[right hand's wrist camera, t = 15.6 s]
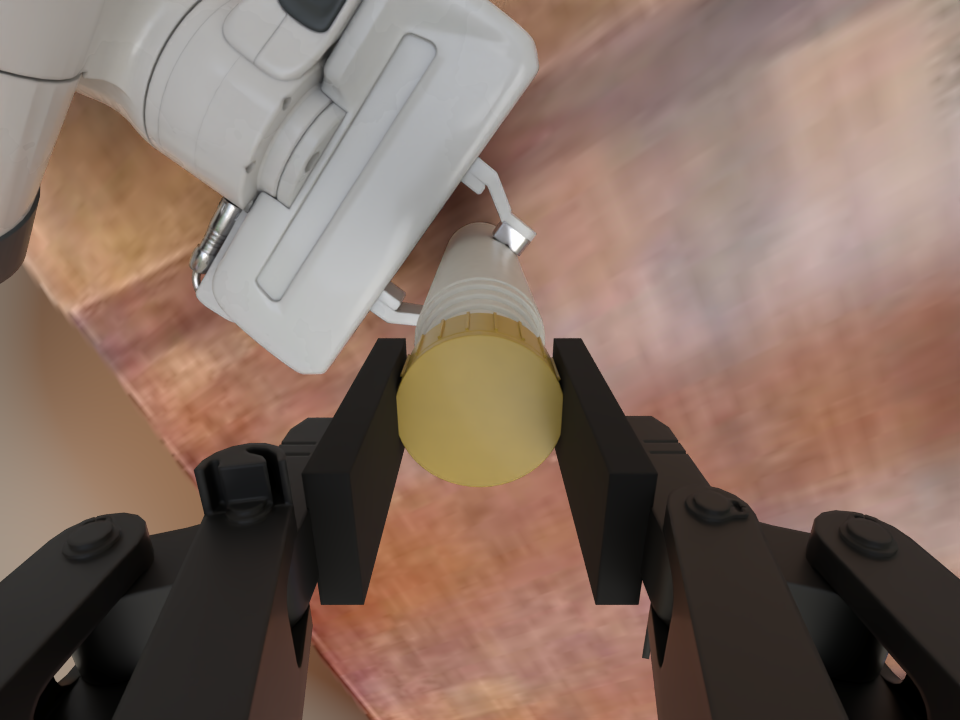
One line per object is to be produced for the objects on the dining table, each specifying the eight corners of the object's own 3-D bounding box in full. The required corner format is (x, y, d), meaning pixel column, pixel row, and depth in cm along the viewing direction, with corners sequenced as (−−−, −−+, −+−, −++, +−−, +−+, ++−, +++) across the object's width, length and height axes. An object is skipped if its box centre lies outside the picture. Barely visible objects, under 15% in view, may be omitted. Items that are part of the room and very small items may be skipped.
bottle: (528, 247, 33) (604, 382, 13) (489, 305, 34) (503, 508, 14) (469, 207, 32) (451, 285, 12) (431, 268, 33) (359, 429, 13)
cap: (388, 321, 14) (375, 345, 12) (549, 299, 14) (559, 320, 12) (418, 458, 15) (410, 498, 13) (562, 440, 15) (574, 478, 13)
